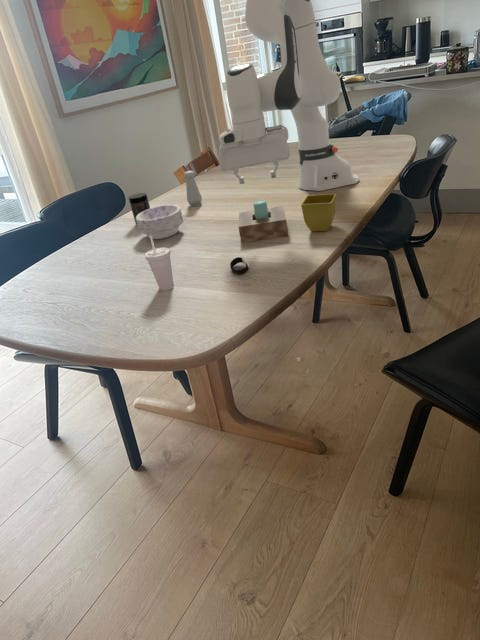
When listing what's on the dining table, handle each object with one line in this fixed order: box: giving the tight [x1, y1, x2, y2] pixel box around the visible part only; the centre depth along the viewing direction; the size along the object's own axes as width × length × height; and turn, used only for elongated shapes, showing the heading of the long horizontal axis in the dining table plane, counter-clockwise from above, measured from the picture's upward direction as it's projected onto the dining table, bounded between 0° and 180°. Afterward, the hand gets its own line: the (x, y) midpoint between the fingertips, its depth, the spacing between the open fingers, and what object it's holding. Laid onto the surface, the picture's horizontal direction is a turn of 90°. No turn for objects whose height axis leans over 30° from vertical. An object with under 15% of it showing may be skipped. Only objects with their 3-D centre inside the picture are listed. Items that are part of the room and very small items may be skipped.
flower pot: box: [300, 193, 337, 232], centre depth 137 cm, size 9×9×9 cm
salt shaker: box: [183, 170, 203, 207], centre depth 183 cm, size 6×6×13 cm
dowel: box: [252, 200, 269, 220], centre depth 143 cm, size 4×4×8 cm
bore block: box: [237, 205, 289, 244], centre depth 144 cm, size 14×14×5 cm
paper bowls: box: [136, 204, 184, 240], centre depth 158 cm, size 15×15×8 cm
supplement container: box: [127, 192, 151, 226], centre depth 173 cm, size 7×7×10 cm
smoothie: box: [144, 236, 175, 291], centre depth 117 cm, size 6×6×14 cm
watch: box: [229, 256, 250, 276], centre depth 122 cm, size 8×5×4 cm, turn 17°
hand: (258, 180), depth 138 cm, fingers open, 8 cm apart
